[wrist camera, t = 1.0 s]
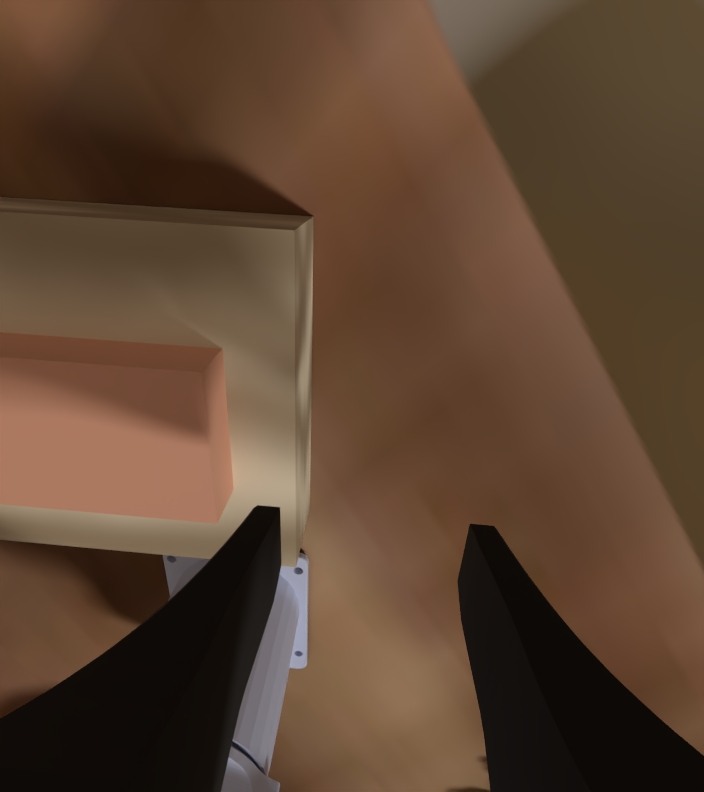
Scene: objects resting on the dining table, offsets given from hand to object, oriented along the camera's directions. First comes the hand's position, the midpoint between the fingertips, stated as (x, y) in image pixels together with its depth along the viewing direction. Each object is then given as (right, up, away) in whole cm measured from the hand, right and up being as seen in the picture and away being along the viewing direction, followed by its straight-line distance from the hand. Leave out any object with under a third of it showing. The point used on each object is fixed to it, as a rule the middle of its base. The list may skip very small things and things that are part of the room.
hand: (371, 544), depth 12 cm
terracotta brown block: (-10, +3, +5) cm, 11 cm away
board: (-9, +5, +9) cm, 14 cm away
